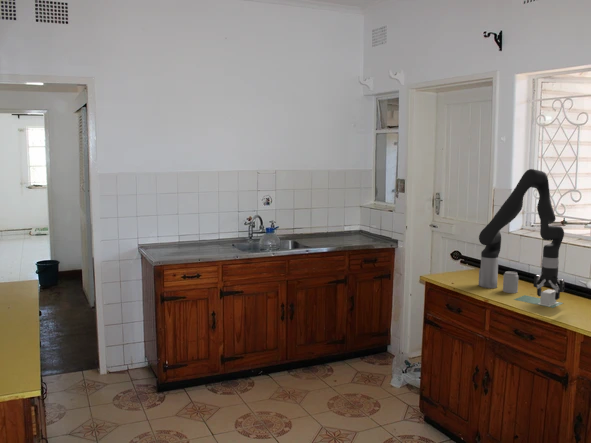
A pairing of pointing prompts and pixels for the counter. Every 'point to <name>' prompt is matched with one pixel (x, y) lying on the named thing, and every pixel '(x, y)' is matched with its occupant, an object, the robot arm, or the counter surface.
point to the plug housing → (548, 297)
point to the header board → (535, 301)
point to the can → (510, 282)
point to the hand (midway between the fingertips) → (547, 297)
